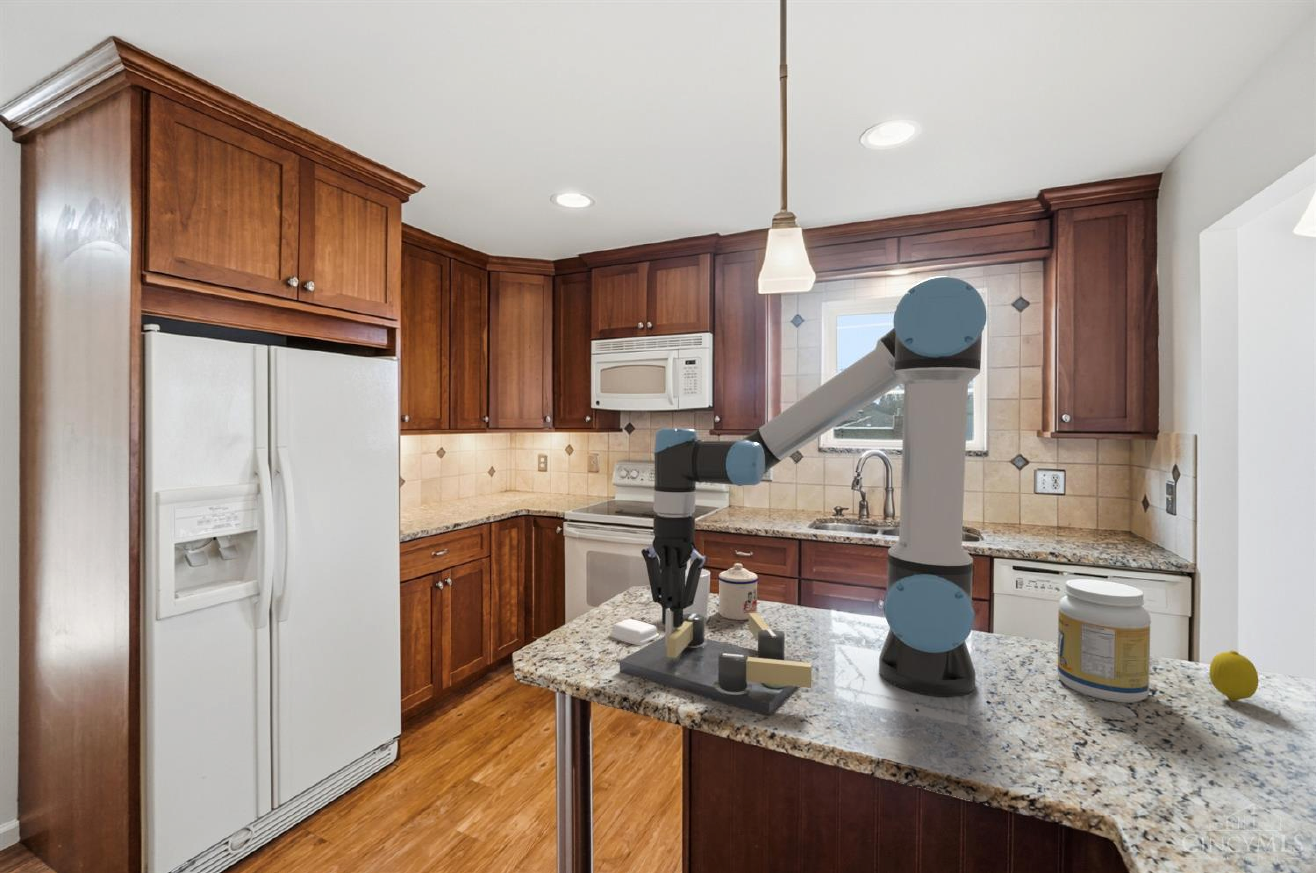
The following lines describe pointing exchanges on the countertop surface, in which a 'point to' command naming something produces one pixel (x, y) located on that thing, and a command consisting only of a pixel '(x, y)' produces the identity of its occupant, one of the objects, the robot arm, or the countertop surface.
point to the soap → (634, 632)
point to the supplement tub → (1104, 640)
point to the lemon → (1233, 675)
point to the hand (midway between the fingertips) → (672, 643)
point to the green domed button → (774, 685)
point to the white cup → (700, 595)
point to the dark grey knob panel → (703, 674)
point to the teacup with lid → (737, 593)
